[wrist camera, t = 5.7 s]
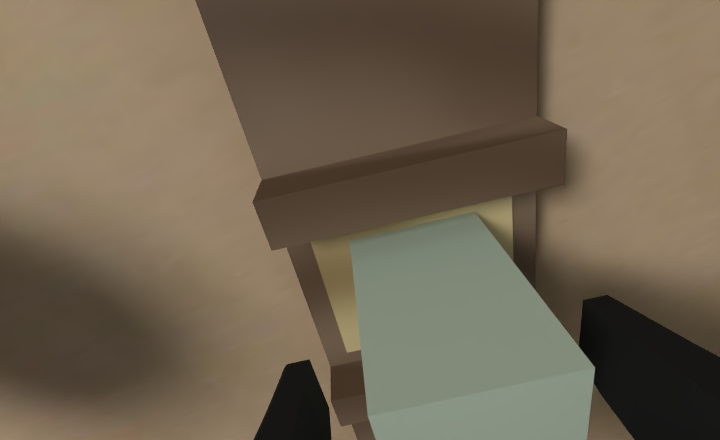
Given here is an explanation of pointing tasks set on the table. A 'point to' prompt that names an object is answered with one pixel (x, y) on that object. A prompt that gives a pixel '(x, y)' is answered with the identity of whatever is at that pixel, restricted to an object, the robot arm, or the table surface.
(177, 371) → the table surface
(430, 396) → the sage block
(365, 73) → the notch rail
